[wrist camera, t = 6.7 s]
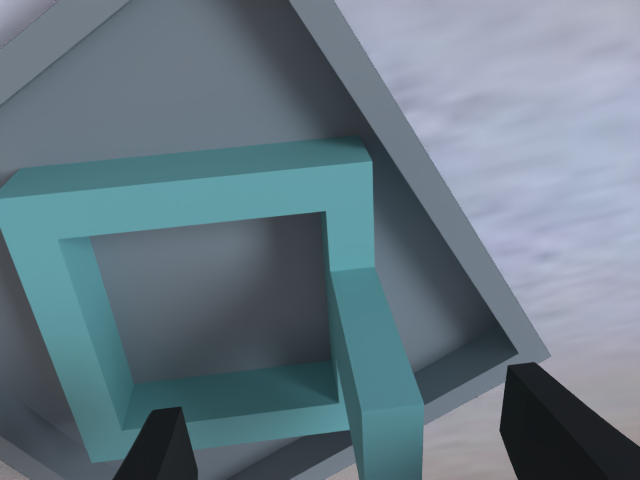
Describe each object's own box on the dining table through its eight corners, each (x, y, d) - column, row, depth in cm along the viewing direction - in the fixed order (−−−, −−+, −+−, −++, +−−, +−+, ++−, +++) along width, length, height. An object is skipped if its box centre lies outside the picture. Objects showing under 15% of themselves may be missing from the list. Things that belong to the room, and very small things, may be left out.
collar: (106, 414, 19) (37, 640, 13) (20, 168, 15) (-144, 335, 9) (367, 382, 20) (418, 585, 14) (358, 134, 15) (428, 270, 9)
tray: (525, 318, 20) (551, 356, 18) (171, 517, 23) (164, 565, 21) (243, -140, 12) (241, -152, 11) (-218, 242, 16) (-277, 280, 14)
